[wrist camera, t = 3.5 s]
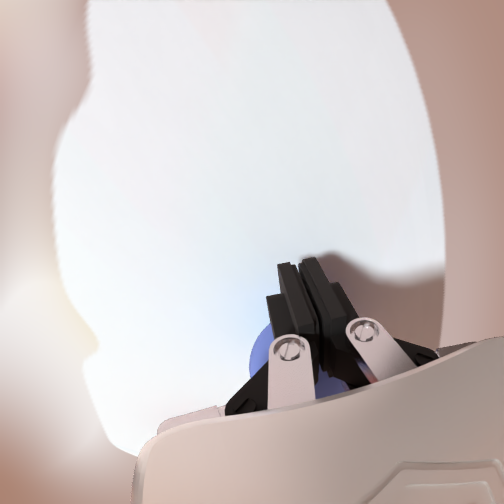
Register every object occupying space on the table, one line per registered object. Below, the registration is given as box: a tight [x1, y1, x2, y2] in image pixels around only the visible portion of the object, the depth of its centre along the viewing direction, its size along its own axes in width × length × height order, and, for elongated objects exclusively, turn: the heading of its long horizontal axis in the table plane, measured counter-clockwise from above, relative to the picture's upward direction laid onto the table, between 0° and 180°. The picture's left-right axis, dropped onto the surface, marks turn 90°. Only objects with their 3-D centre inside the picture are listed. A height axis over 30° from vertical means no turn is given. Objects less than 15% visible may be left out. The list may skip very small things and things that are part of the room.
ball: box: [249, 323, 345, 399], centre depth 14 cm, size 6×6×6 cm
